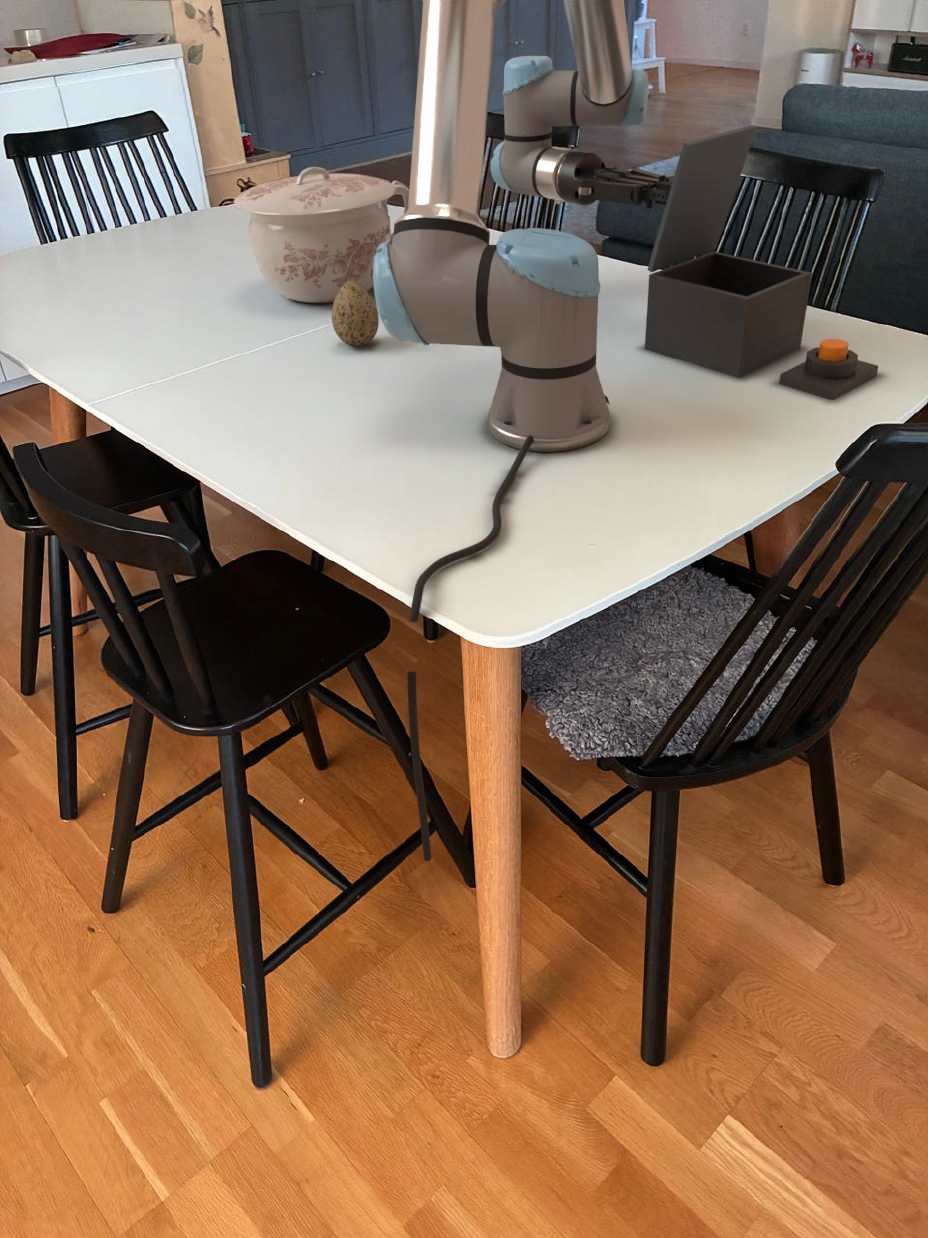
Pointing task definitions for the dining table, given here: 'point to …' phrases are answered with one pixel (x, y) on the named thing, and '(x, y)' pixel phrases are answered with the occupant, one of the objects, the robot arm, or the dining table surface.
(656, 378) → the dining table surface
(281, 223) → the chamber pot
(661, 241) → the dark grey box lid
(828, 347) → the button
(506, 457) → the dining table surface
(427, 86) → the robot arm
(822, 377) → the control block
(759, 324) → the dark grey box
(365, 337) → the decorative egg
